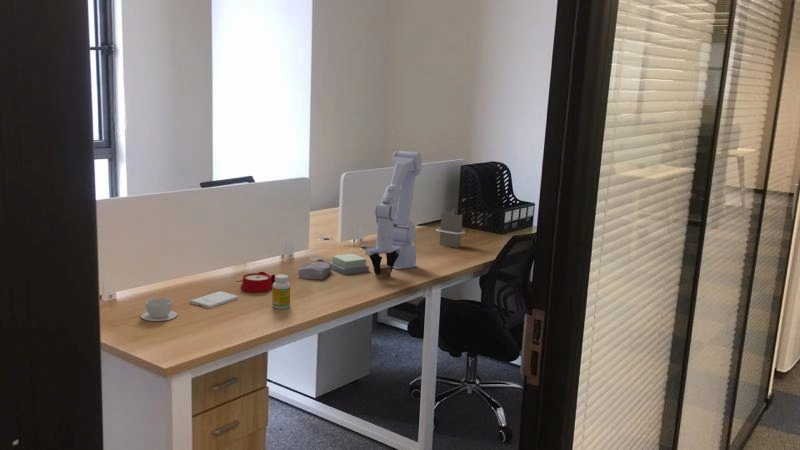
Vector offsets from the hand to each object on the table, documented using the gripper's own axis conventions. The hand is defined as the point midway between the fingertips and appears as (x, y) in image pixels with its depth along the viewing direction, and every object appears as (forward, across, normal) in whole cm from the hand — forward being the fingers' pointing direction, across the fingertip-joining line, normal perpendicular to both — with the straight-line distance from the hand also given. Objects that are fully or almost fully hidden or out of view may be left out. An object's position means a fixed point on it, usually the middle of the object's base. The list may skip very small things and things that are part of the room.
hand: (383, 272), depth 264 cm
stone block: (+2, -21, +13) cm, 25 cm away
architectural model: (+2, +55, +28) cm, 62 cm away
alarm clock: (+2, -45, +8) cm, 45 cm away
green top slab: (0, -6, +14) cm, 15 cm away
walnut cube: (+2, 0, 0) cm, 2 cm away
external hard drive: (+2, -64, 0) cm, 64 cm away
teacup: (+2, -83, -6) cm, 83 cm away
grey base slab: (+2, -6, +14) cm, 15 cm away
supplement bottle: (+2, -48, -14) cm, 50 cm away
